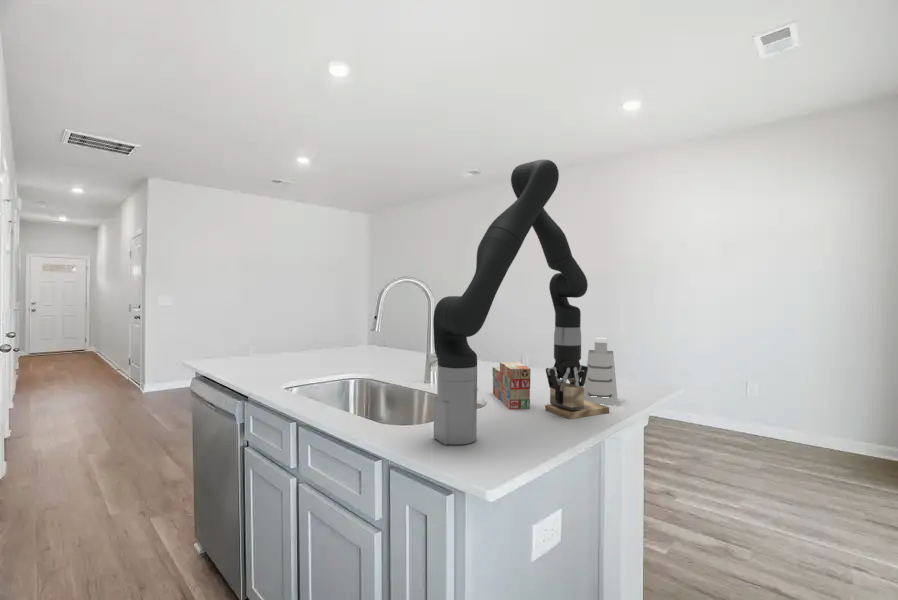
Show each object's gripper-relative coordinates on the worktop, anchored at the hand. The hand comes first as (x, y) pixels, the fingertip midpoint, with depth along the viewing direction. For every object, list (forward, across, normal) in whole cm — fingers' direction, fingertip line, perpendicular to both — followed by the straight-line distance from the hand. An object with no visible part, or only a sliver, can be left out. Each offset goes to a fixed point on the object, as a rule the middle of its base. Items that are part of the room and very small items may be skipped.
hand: (566, 402), depth 132 cm
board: (+3, +4, 0) cm, 5 cm away
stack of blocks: (+3, -6, +20) cm, 21 cm away
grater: (+3, +20, +7) cm, 21 cm away
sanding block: (+1, 0, 0) cm, 1 cm away
